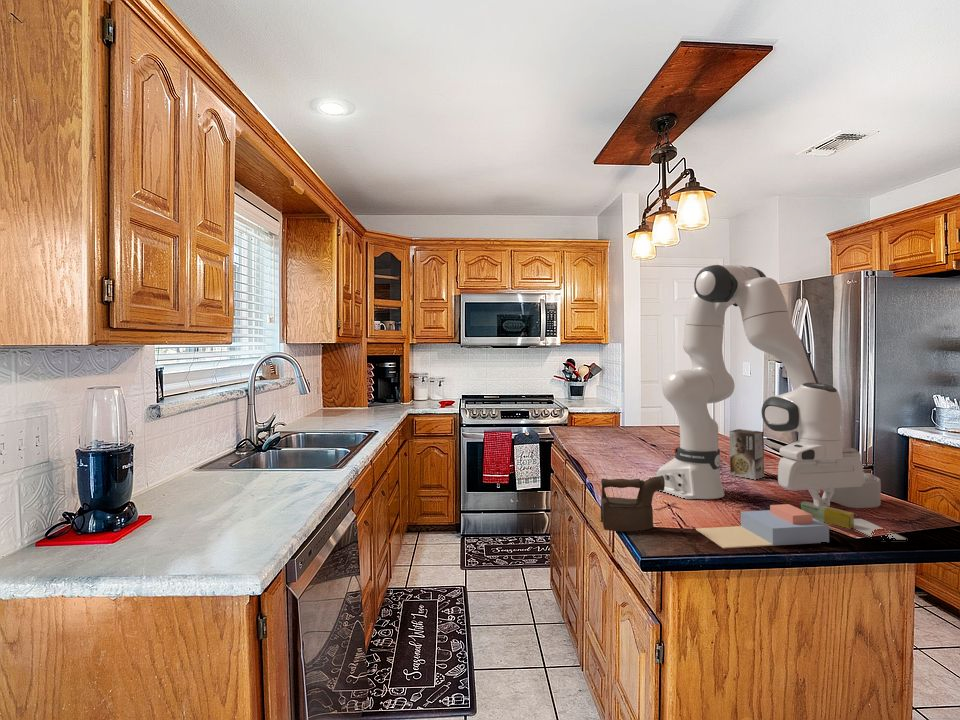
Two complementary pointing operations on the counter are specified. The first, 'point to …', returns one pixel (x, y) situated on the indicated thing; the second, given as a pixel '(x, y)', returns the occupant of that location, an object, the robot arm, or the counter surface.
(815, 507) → the medication box
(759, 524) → the grey flat block
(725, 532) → the mat
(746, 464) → the coffee box
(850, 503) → the lumpy-topped squat cylinder
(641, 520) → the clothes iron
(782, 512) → the salmon pink block
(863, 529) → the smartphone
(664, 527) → the counter surface
